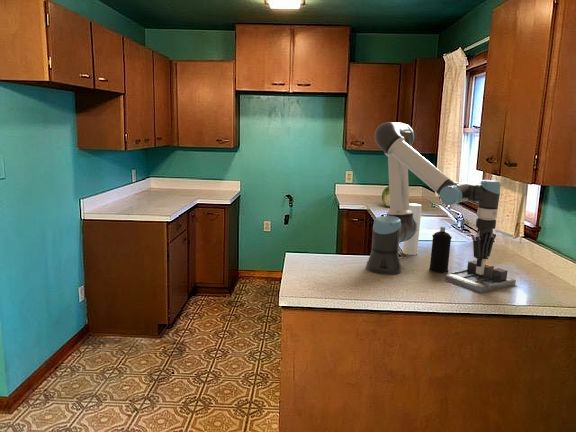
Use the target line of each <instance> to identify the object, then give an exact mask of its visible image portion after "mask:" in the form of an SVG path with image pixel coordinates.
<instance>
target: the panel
mask: <svg viewBox="0 0 576 432" xmlns="http://www.w3.org/2000/svg"><path fill="white" fill-rule="evenodd" d="M476 264H477V260H470V261H468V262H467V268H466V269H462V270H458V271H453V272H452V271H451V272H450V273H449V274H448V273H447V274H445V275H444V279H445V280H444V281H447V280H448V281H447V282H449V281H451V282H450V283H452V282H453V284H455V283H456V285H458V284H459V285H458V286H460V285H461V287H463V286H464V287H463V288H466V287H467V288H466V289H468V288H469V289H468V290H471V291H475V292H477V293H479V294H484V293H487V292H488V293H489V292H491V291H496V290H500V289H504V288H508V287H511V286H515V285H516V281H517V280H516V279H513V278H509V277H508V269H507V270H506V269H502V268H500V267H498V268H494V269H493V272H492V277H488V278H486V277H483V276H480V275H479V274H477V273H476Z"/></svg>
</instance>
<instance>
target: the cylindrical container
mask: <svg viewBox="0 0 576 432" xmlns="http://www.w3.org/2000/svg"><path fill="white" fill-rule="evenodd" d="M409 209H410V210H411V211H412V212H413V218H414V219H415V220H416V223H417V231H416V233H415V235H414V236H413V237H412V238H410V239H409V240H407V241H403V242H402V243H403V246H402V254H404V255H407V254H408V256H416V254H417V255H418V251H419V250H418V249H419V237H420V226H421V218H422V217H421V216H422V204H419V203H414V202H413V203H410V202H409Z"/></svg>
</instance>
